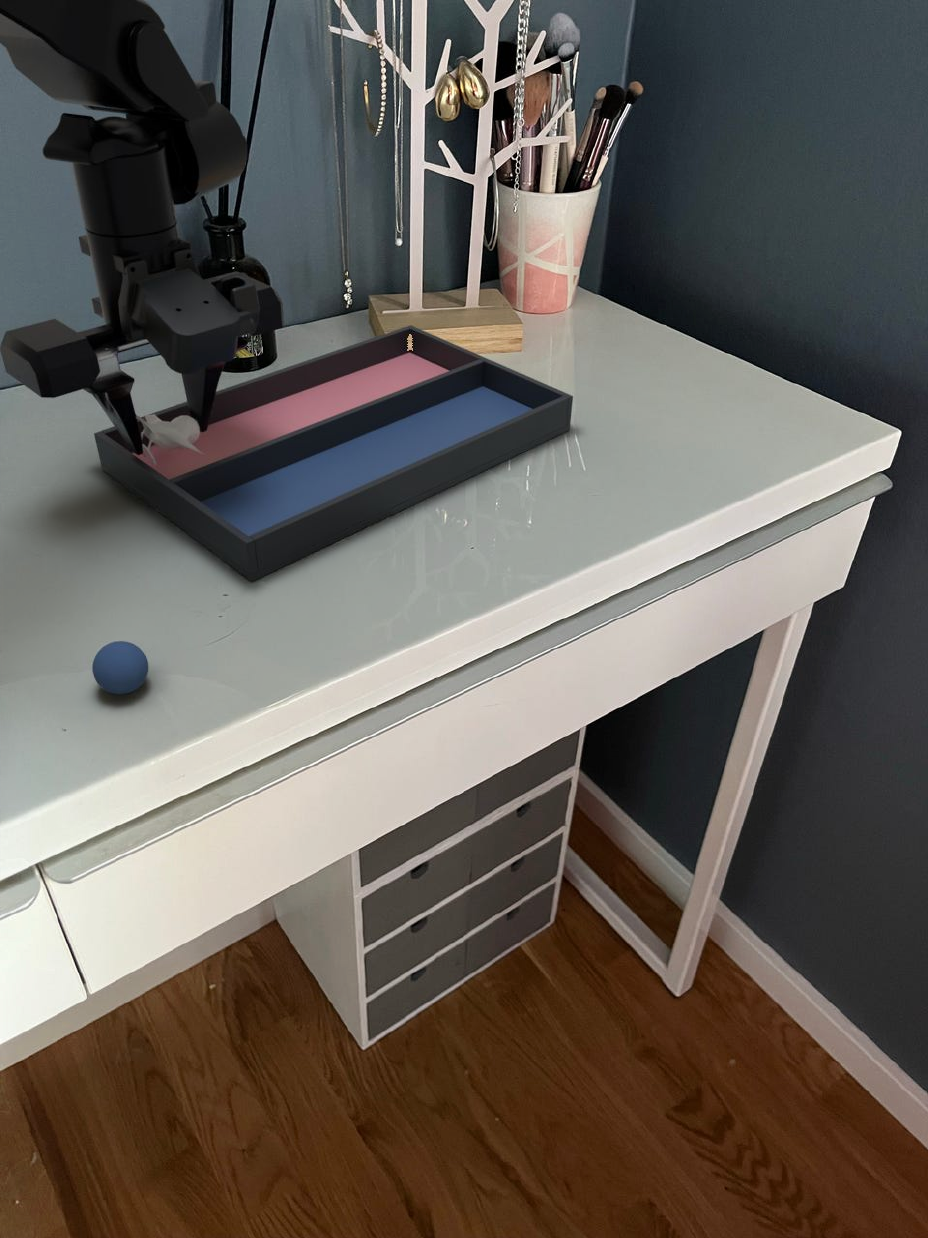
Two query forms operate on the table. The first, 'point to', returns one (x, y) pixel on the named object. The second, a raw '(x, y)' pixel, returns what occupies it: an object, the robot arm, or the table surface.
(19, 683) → the table surface
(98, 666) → the slate ball
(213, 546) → the tray
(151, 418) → the white bird figurine
